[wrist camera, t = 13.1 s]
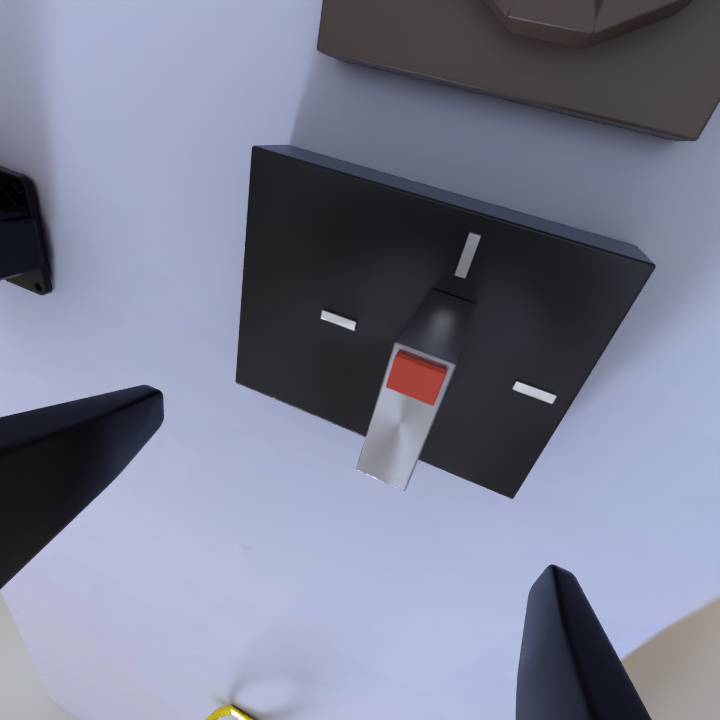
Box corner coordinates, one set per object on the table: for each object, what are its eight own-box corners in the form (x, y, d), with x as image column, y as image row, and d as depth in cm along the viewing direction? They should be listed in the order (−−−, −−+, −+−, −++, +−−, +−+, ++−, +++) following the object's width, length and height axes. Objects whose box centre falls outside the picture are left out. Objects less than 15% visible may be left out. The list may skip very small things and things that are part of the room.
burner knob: (433, 410, 16) (402, 497, 12) (395, 395, 16) (352, 475, 13) (476, 303, 14) (455, 369, 10) (430, 288, 14) (391, 346, 10)
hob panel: (263, 359, 21) (232, 384, 19) (287, 144, 16) (248, 145, 14) (514, 460, 19) (512, 503, 17) (638, 246, 14) (659, 266, 11)
